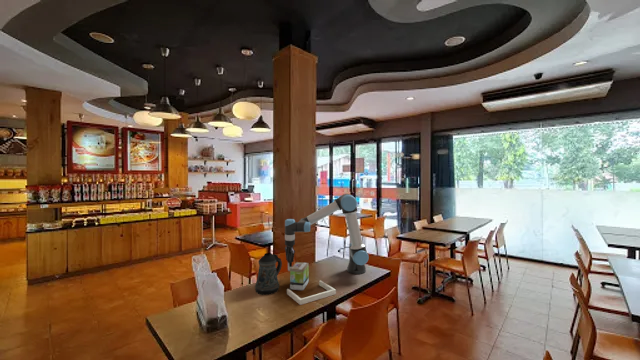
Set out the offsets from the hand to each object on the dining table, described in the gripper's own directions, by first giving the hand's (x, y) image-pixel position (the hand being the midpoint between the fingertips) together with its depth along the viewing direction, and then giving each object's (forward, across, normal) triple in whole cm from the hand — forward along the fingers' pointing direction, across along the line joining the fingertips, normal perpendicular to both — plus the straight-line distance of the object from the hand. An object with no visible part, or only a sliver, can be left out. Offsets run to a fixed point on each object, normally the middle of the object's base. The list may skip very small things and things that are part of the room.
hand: (289, 270), depth 206 cm
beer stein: (+7, +8, -21) cm, 23 cm away
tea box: (+7, +15, 0) cm, 17 cm away
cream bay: (+6, +31, 0) cm, 32 cm away
